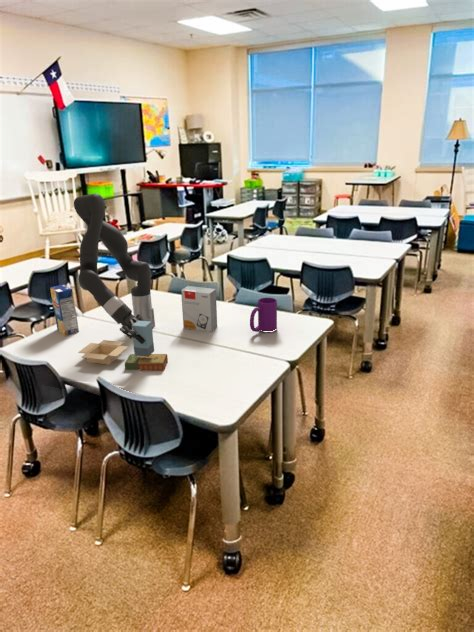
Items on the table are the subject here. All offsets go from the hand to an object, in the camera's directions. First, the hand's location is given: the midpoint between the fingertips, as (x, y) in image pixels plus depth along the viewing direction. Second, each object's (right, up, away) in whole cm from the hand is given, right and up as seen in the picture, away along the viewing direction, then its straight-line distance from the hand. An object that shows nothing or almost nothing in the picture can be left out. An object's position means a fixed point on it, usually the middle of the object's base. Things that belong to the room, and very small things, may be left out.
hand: (147, 339), depth 190 cm
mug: (+49, +2, +36) cm, 60 cm away
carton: (-1, -12, +5) cm, 13 cm away
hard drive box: (+18, +4, +43) cm, 47 cm away
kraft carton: (-20, -9, +12) cm, 25 cm away
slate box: (-2, -6, +3) cm, 7 cm away
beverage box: (-48, +2, +44) cm, 65 cm away
